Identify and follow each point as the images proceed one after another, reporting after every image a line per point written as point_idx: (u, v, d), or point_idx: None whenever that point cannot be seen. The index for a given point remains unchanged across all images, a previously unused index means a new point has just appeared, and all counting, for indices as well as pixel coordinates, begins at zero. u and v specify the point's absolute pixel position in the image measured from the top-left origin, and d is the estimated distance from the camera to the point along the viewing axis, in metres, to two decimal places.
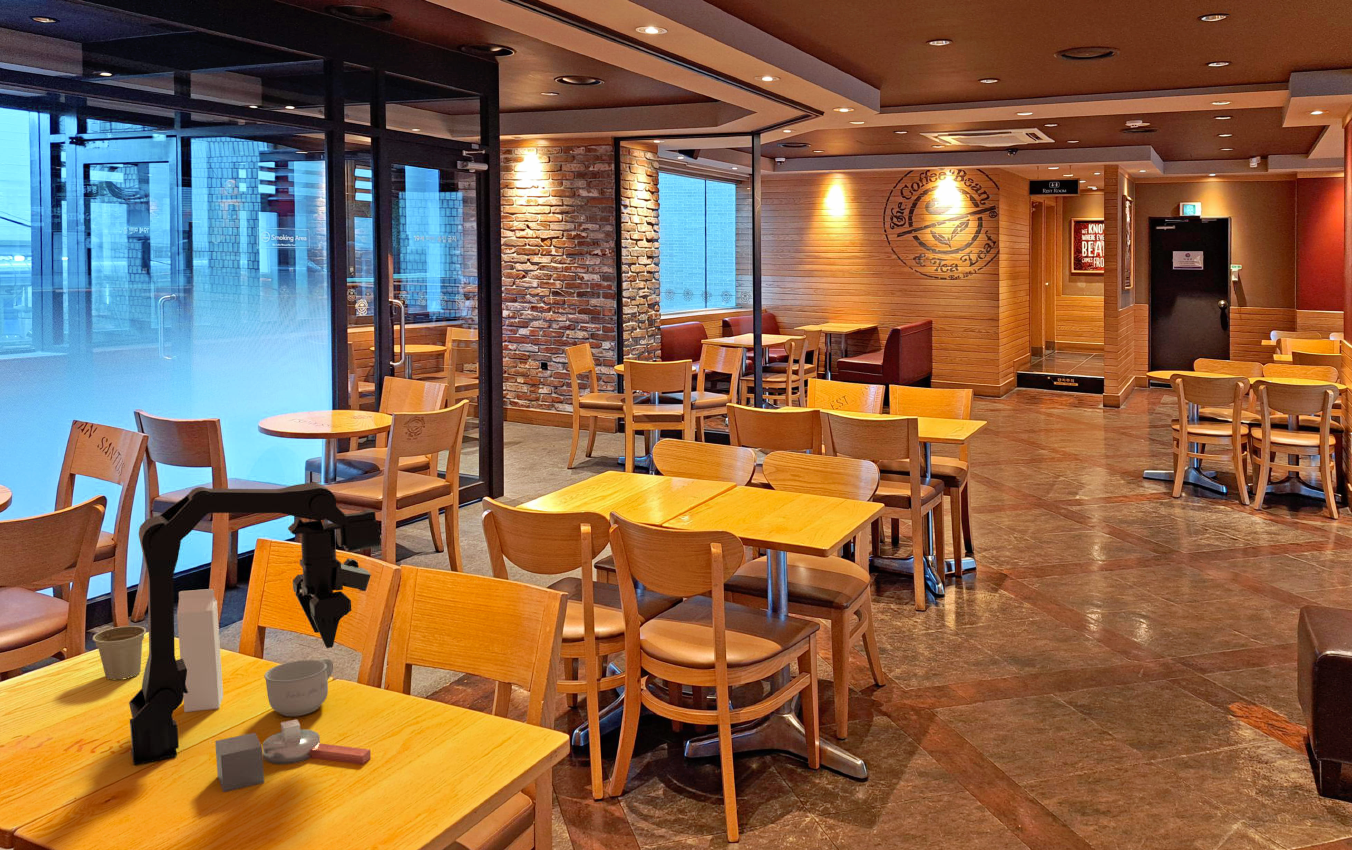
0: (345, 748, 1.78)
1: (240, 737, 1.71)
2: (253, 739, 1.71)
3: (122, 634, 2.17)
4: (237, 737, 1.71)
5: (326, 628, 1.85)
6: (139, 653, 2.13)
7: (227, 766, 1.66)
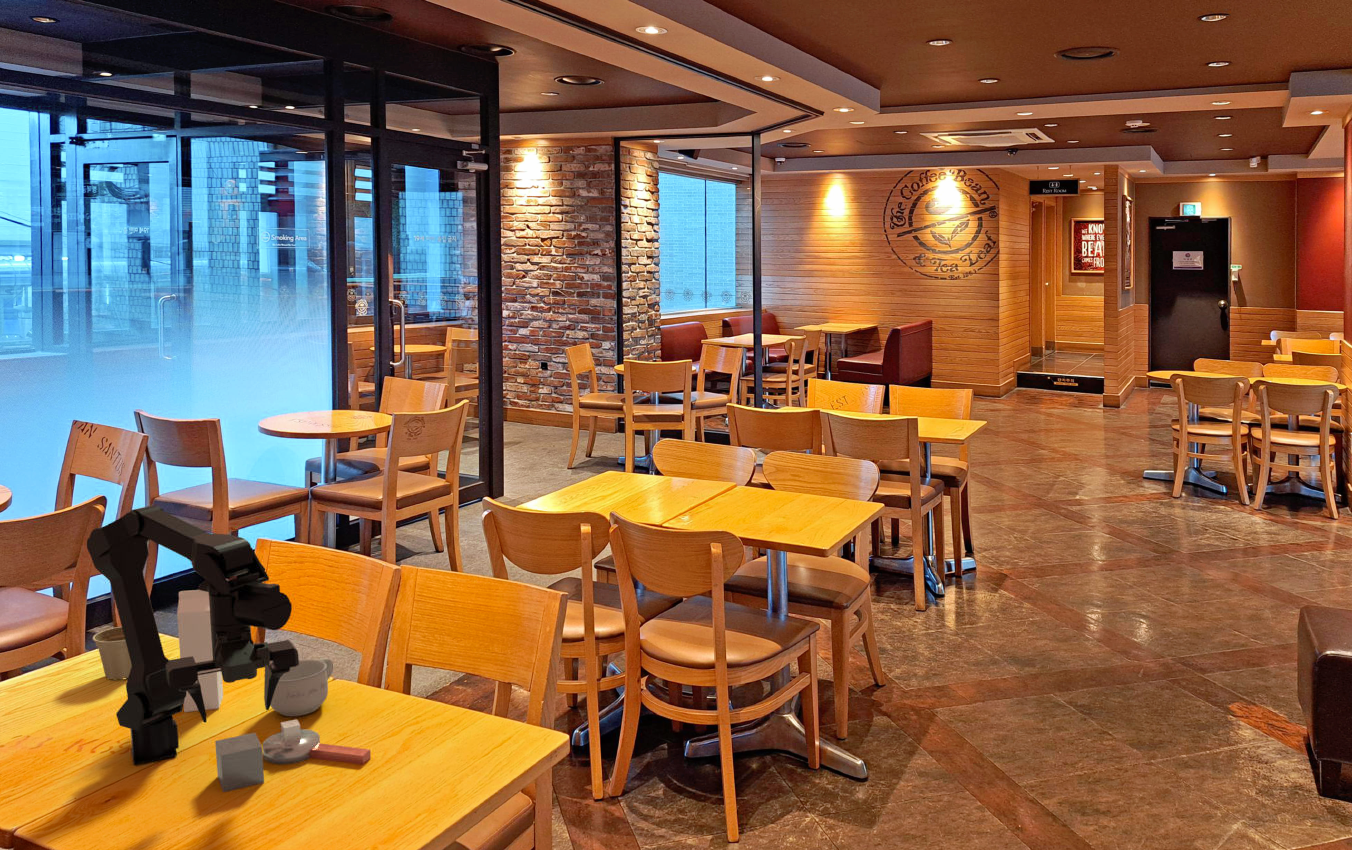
0: (345, 748, 1.78)
1: (240, 737, 1.71)
2: (253, 739, 1.71)
3: (122, 634, 2.17)
4: (237, 737, 1.71)
5: None
6: None
7: (227, 766, 1.66)
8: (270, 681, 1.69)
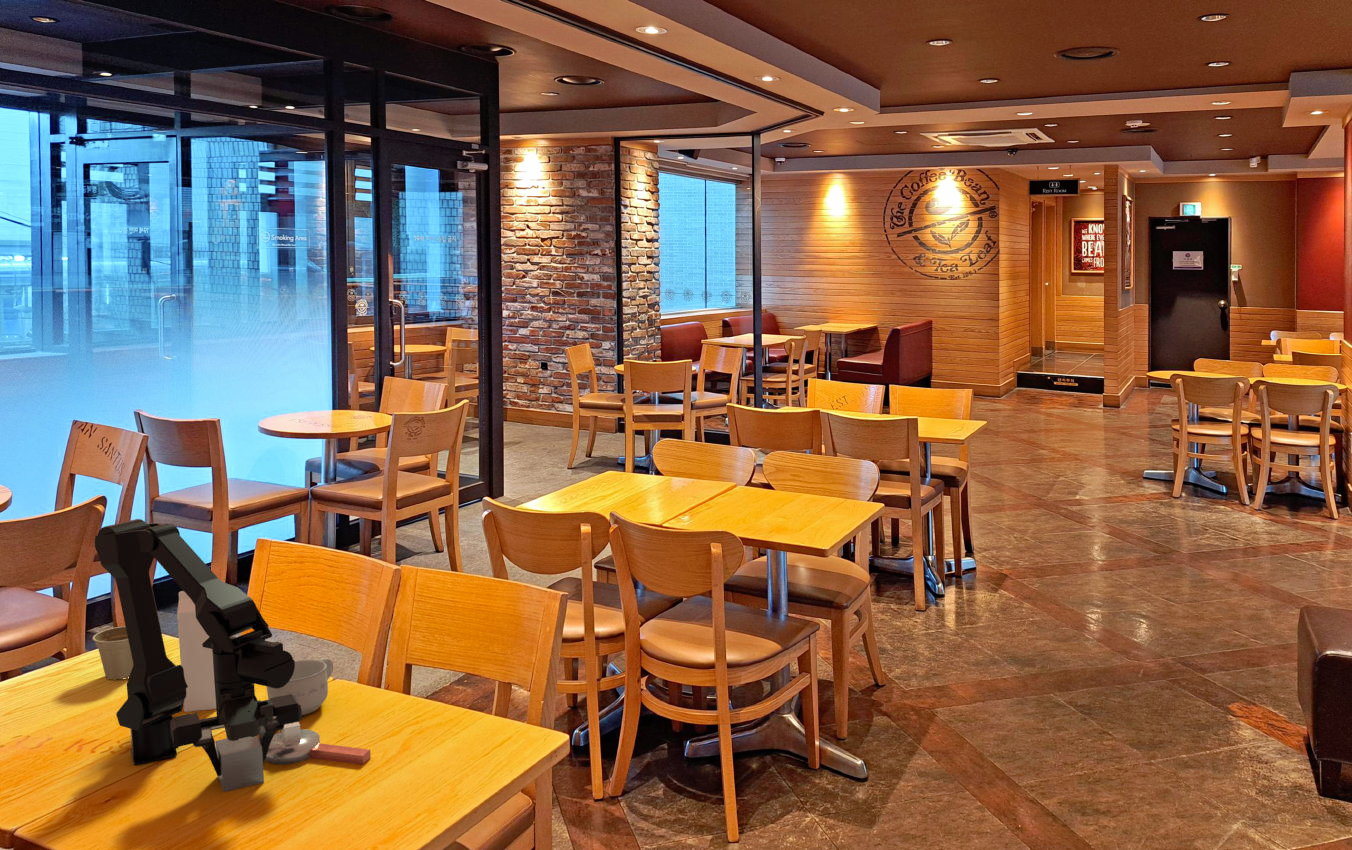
0: (345, 748, 1.78)
1: None
2: (253, 739, 1.71)
3: (122, 634, 2.17)
4: None
5: None
6: None
7: (227, 766, 1.66)
8: (264, 738, 1.70)
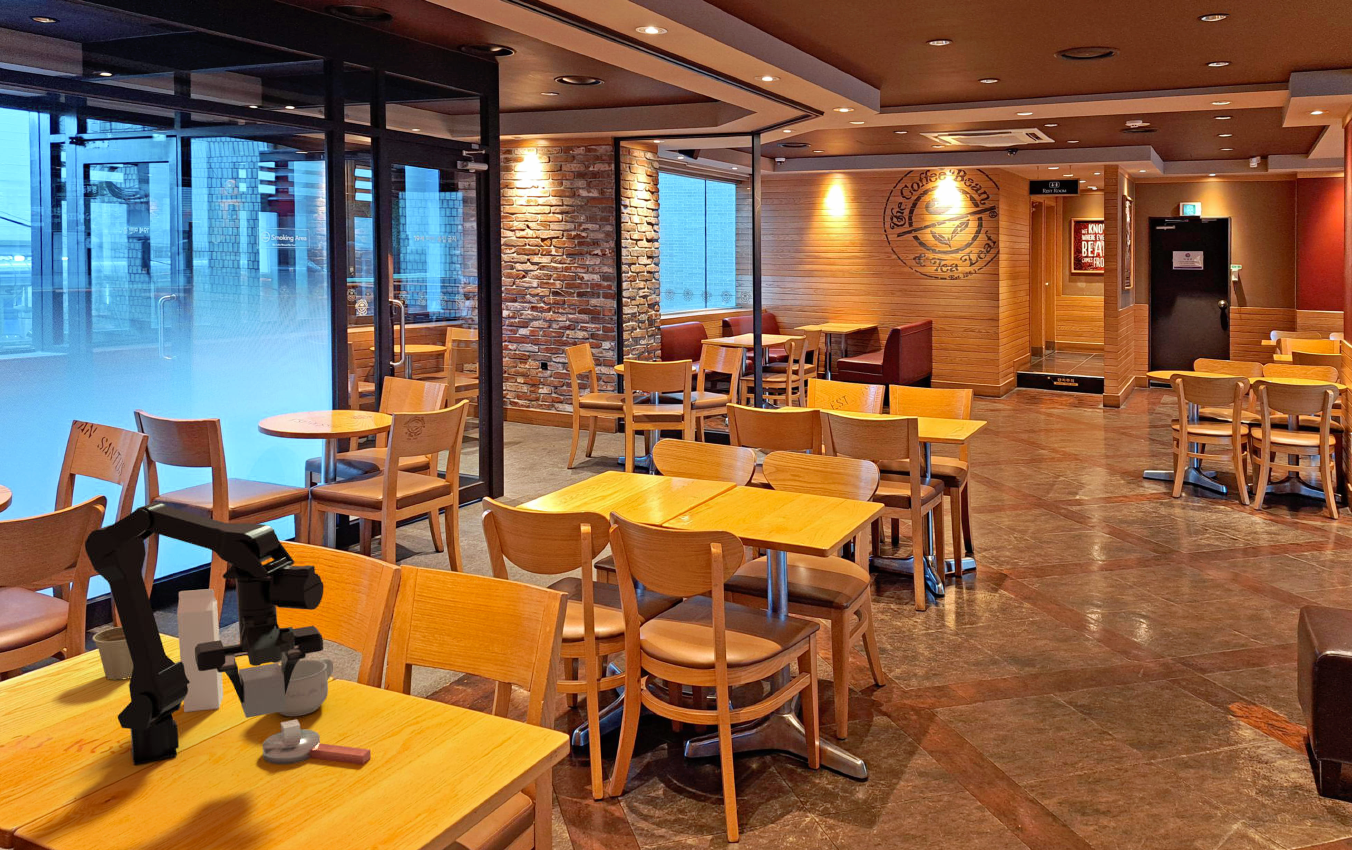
0: (345, 748, 1.78)
1: (263, 666, 1.75)
2: (275, 668, 1.74)
3: (122, 634, 2.17)
4: (260, 666, 1.75)
5: None
6: None
7: (249, 692, 1.69)
8: (286, 667, 1.73)
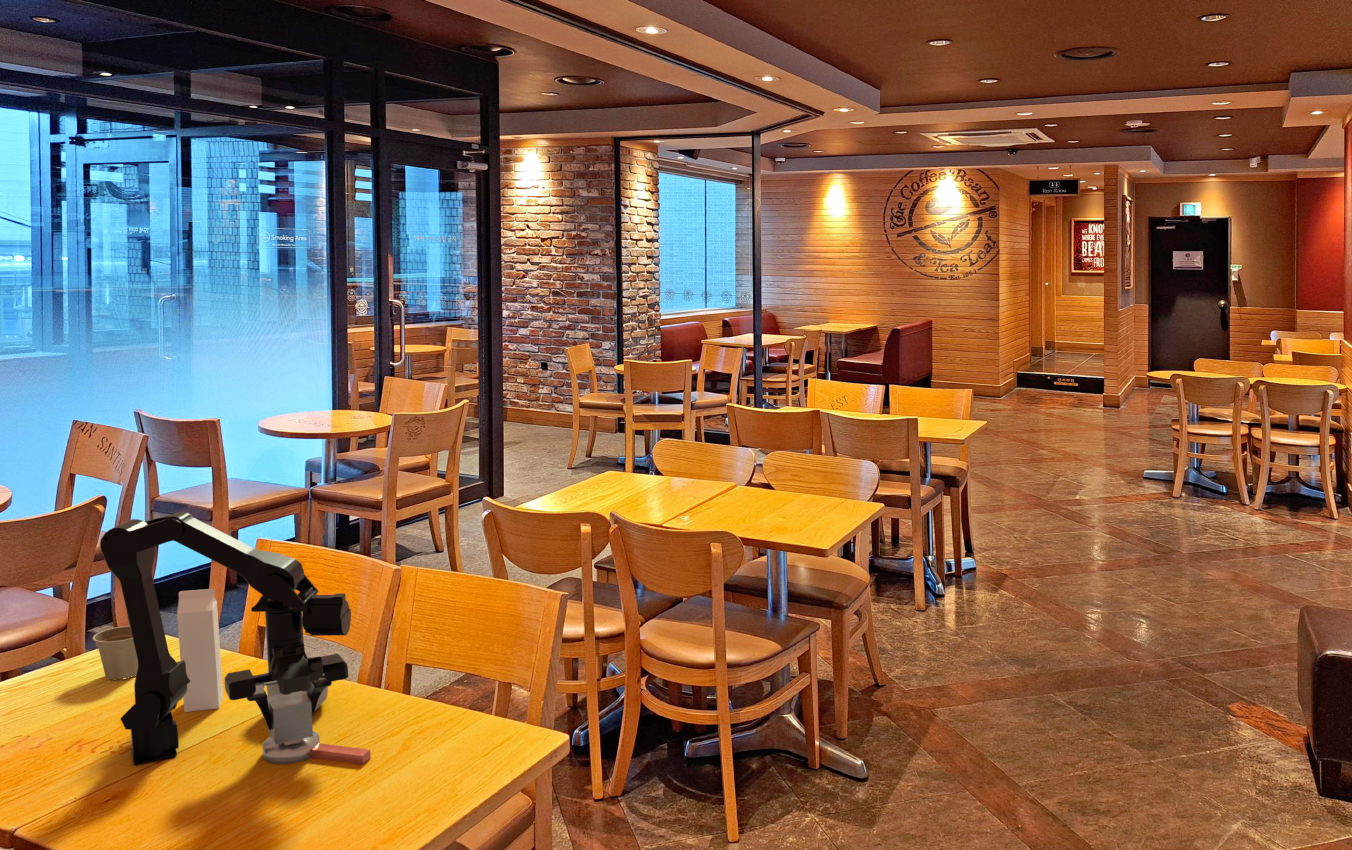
0: (345, 748, 1.78)
1: (289, 694, 1.81)
2: (302, 695, 1.80)
3: (122, 634, 2.17)
4: None
5: None
6: None
7: (278, 720, 1.75)
8: (313, 694, 1.79)
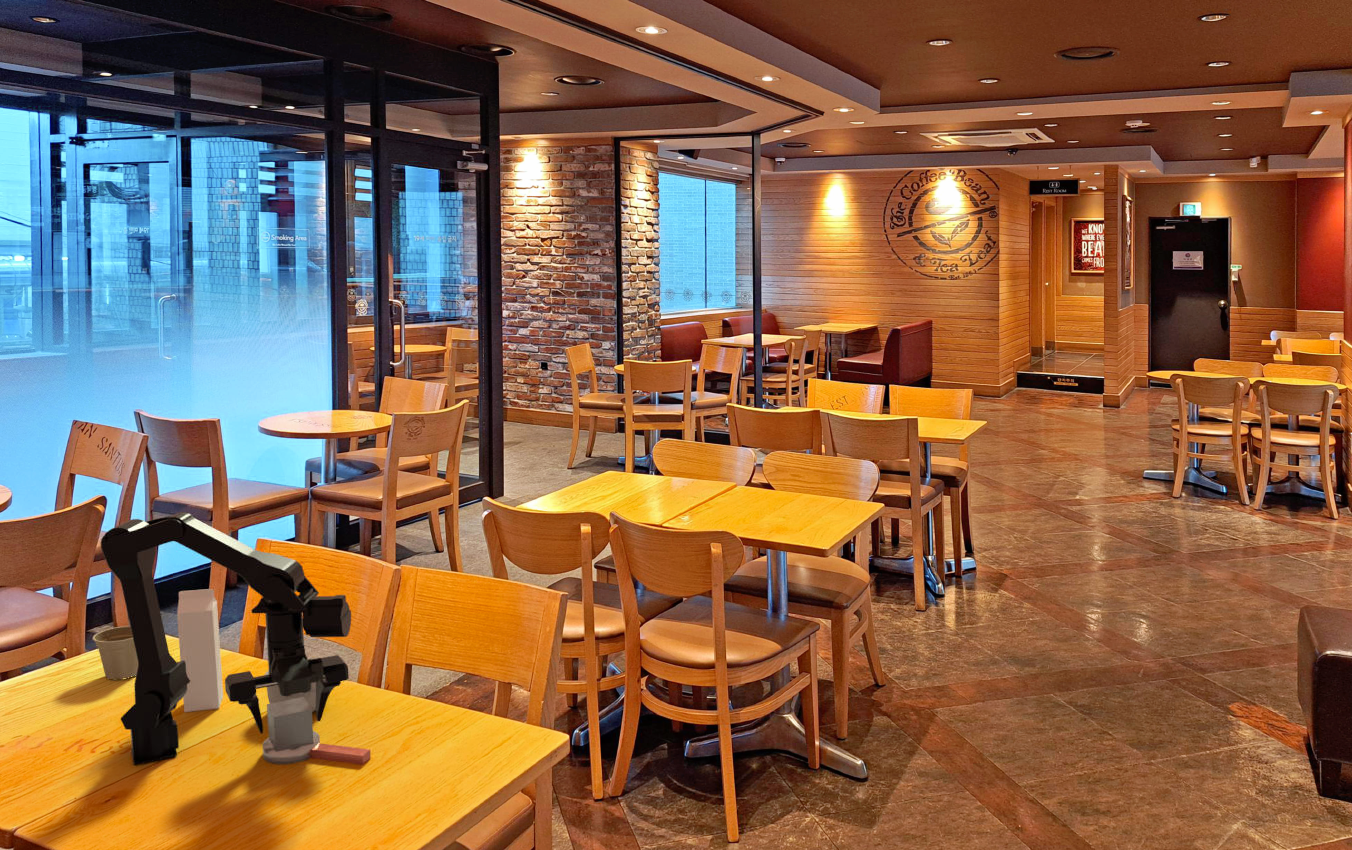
0: (345, 748, 1.78)
1: (290, 701, 1.81)
2: (302, 703, 1.80)
3: (122, 634, 2.17)
4: (287, 701, 1.81)
5: None
6: None
7: (279, 727, 1.75)
8: (322, 694, 1.80)
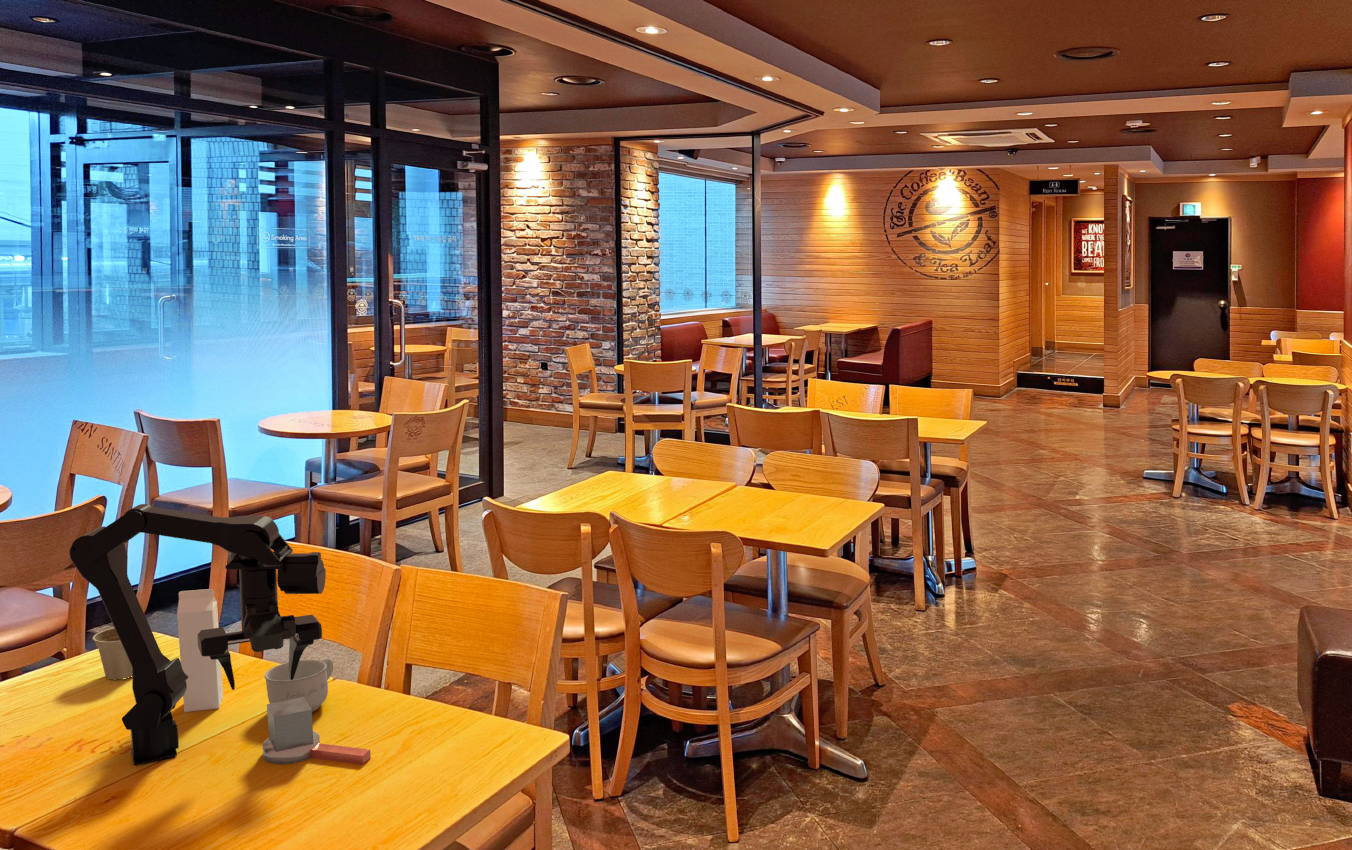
0: (345, 748, 1.78)
1: (290, 701, 1.81)
2: (302, 703, 1.80)
3: None
4: (287, 701, 1.81)
5: None
6: None
7: (279, 727, 1.75)
8: (295, 652, 1.79)
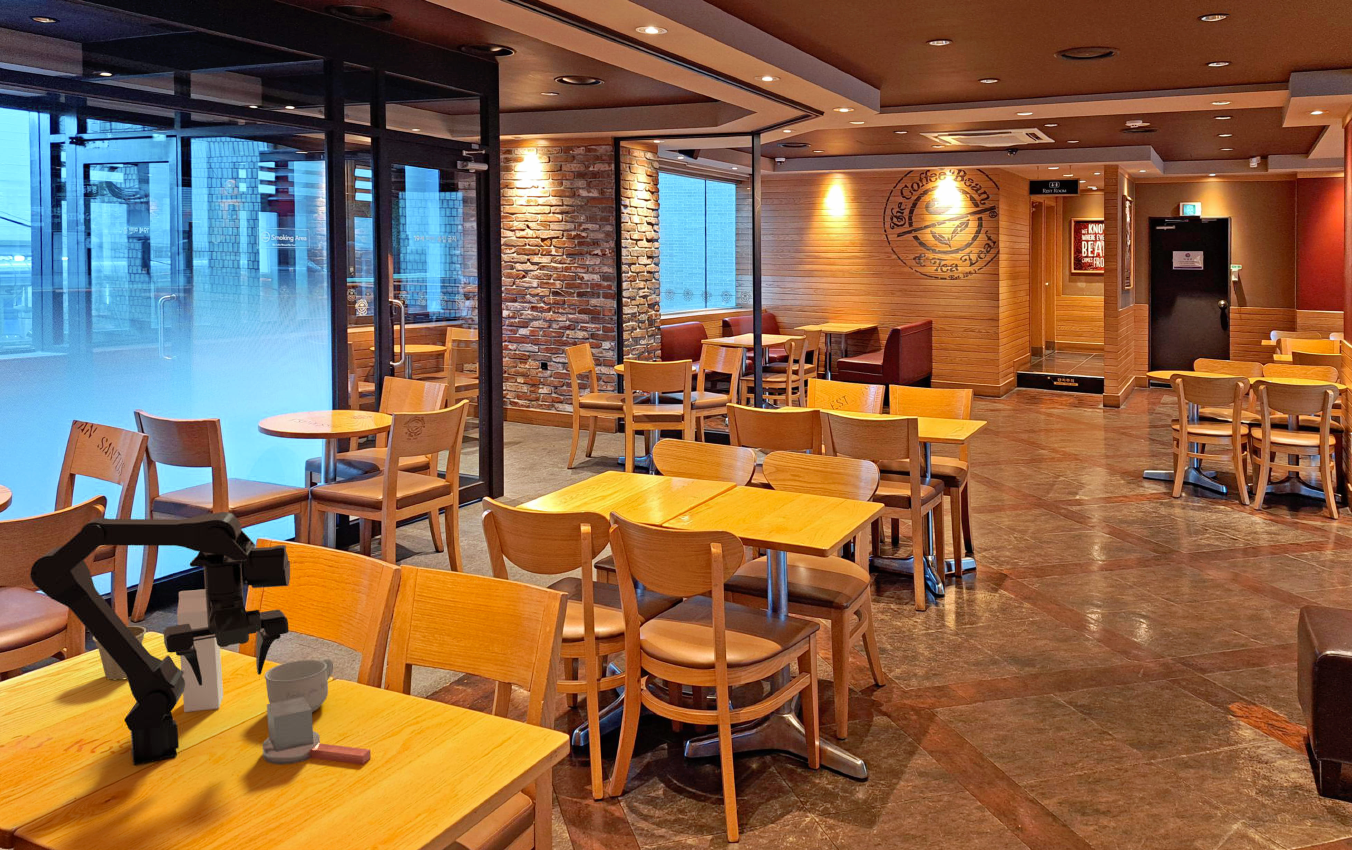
0: (345, 748, 1.78)
1: (290, 701, 1.81)
2: (302, 703, 1.80)
3: None
4: (287, 701, 1.81)
5: None
6: None
7: (279, 727, 1.75)
8: (262, 647, 1.80)
